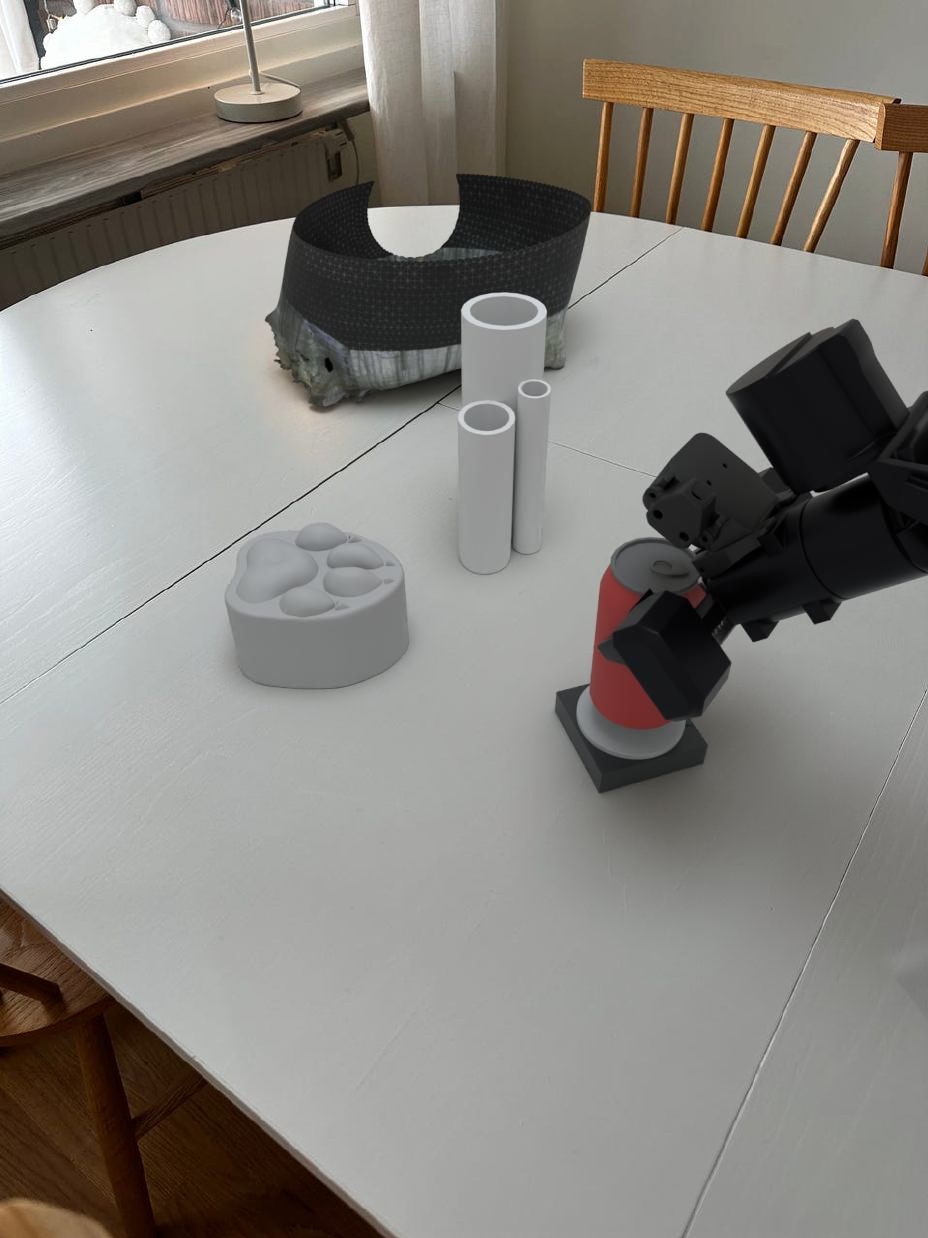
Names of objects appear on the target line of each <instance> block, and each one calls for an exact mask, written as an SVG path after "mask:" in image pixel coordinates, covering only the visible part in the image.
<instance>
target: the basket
mask: <svg viewBox="0 0 928 1238" xmlns="http://www.w3.org/2000/svg"><path fill="white" fill-rule="evenodd" d="M455 178H456V180H457V184H458V196H459V207H458V214H457V219H456V221H455V225H454V228H453V229H452V232H451V234H450V235H449V237H448V238H447V240H445V242H444V243H443V244H442V245H441V246H440V247H439V248H438V249H436V250H434V251H433V252H431V253H427V254H425V255H423V256H422V255H421V256H407V257H406V256H403V255H398V254H394V253H393V252H391V251H389V250H387V249H385V248H384V247H383V246H382V245H381V244H380V243H379V242H378V241H377V238H375V236H374V234H373V232H372V229H371V226H370V225H369V224H370V222H369V213H368V211H369V209H368V208H369V202H370V196H371V194H372V191H373V186H374V184H375V180H370V181H367V182H362V183H357V184H354V185H351V186H348V187H344V188H342V189H339V190H336V191H333V192H331V193H329V194H326V195H325V196H322V197H320V198H319V199H317V200H314V202H311V203H309V204H308V205H307V206H306V207H304V208H303V209H302V210H301V211H300V212H299V213H297V215H296V217H295V218H294V220H293V223H292V226H291V230H290V234H289V238H288V239H289V240H288V245H287V251H286V256H285V263H284V268H283V276H282V280H281V282H282V283H281V286H280V292H279V297H278V301H277V305H276V307H275V308H274V309H273V310H272V311H271V312H270V313H269V314H267V315H266V316H265V318H264V322H266V323H267V324H268V325H269V326H270V328H271V329H270V331H271V332H272V333H273V340H274V342H275V343H274V346H275V347H276V348H277V349H278V351H277V352H276V353H275V357H277V358H275V359H273V362H275V363H278V364H279V367H280V369H282V370H283V371H284V370H285V371H291V377H292V379H294V380H292V381H291V384H299V383H300V385H302V386H303V387H304V388H305V389H310V394H309V397H308V400H307V403H308V404H312V405H313V406H318V407H322V408H325V407H328V406H330V405H335V404H337V403H338V402H339V401H341V400H342V399H343V397H345V398H350V396H352V397H354V400H355V401H357V402H358V403H361V402H362V400H363V397H365V396H366V394H367V393H373V392H377V393H378V392H382V391H386V390H392V389H397V388H400V387H402V386H405V385H406V386H407V385H408V384H409V385H410V384H414V383H417V382H420V381H425V380H427V379H430V378H434V377H438V376H440V375H442V374H446V373H449V372H452V371H453V372H454V371H456V370H459V369H462V347H461V309H462V307H463V305H464V304H465V303H466V302H468V301H469V300H470V299H473V298H475V297H478V296H480V295H485V294H490V293H516V294H521V295H526V296H530V297H532V298H534V299H537V300H539V301H540V302H541V303H542V304H543V305H545V308H546V310H547V319H546V337H545V355H544V368H551V369H555V370H557V369H561V367H563V366H564V365H565V364H566V361H567V354H566V349H565V341H564V328H565V323H566V319H567V314H568V310H569V305H570V301H571V298H572V294H573V290H574V286H575V283H576V278H577V275H578V271H579V268H580V263H581V260H582V256H583V252H584V247H585V243H586V237H587V234H588V230H589V225H590V219H591V214H592V208H593V207H592V204H591V203H592V202H590V200H589V199H588V198H586V197H585V196H583V195H582V194H579V192H576V191H572V190H571V189H568V188H563V187H559V186H555V185H553V184H552V185H551V184H549V183H548V184H546V183H545V182H544V183H542V182H538V181H533V180H529V179H523V178H522V179H521V178H516V177H513V178H512V177H510V176H509V177H507V176H498V175H492V174H491V175H488V174H479V173H478V174H477V173H476V174H475V173H461V174H460V173H456V174H455ZM278 358H279V359H278Z"/></svg>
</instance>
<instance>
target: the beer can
mask: <svg viewBox="0 0 928 1238" xmlns="http://www.w3.org/2000/svg"><path fill="white" fill-rule="evenodd" d="M693 551H694V550H692V549H691V548H690V547H689V548H687V549H680V548H676V547H675V546H674V545H673V544H671V543H670V542H669V541H668V540H667V539H665V538H664V537H659V536H658V537H657V536H645V537H638V538H634V539H632V540H629V541H626V542H624V543H623V544H621V545H619V546H618V547H617V548H616V549H615V550H614V552H613V553H612V554H611V557H610V563H609V564H608V566H607V568H606V569H605V571H604V573H603V574H602V577H601V580H600V581H599V591H598V599H597V600H598V601H597V610H596V619H595V629H594V639H593V651H592V659H591V669H590V680H589V683H590V691H589V694H590V696H591V699H592V702H593V704H594V706H595V707H596V708H597V710H598V711H599V712H600V713H601V714H602V715H603V716H604V717H606V718H607V719H609V720H610V721H612V722H613V723H615V724H617V725H620V726H623V727H626V728H630V729H640V730H645V729H652V728H659V727H661V726H663V725H665V724H668V723H670V722H671V721H667V720H665V719H664V717H663V716H662V715H661V713H660V712H659V710H658V709H657V708H656V706H655V705H654V703H653V702H652V701H651V699H650V698H649V696H648V695H647V694H646V692H645V691H644V689H643V688H642V687H641V685H640V684H639V682H638V681H637V680H636V678H635V677H634V675H633V674H632V673H631V671H630V670H629V668H628V667H627V666H625V665H622V664H619V663H616V662H613V661H610V660H607V659H605V658H604V657H603V655H602V654H601V652H600V651H599V650H598V648H597V645H598V644H599V643H600V642H601V641H603V640H604V639H606V638H607V637H609V636H610V635H612V632H613V631H614V630H615V629H616V628H617V627H618V625H619V624H620V623H621V622H622V621H623V620H624V619H625V617H626V616H627V615H628V612H629V611H630V610H631V608H632V607H633V606H634V605H635V604H636V603H637V602H638V600H639V599H640V598H641V597H642V596H643V595H644V594H645V592H646V591H647V590H648V589H649V588H650V589H651V590H652V591H653V593H654V594H655V593H658V592H661V591H663V590H668V591H671V592H673V593H676V594H678V595H680V596H683V597H685V598H688V600H689V601H690V603H691V604H692V606H693V607H694V608H696V606H697V605H698V604H699V603H700V601H701V600H702V599H703V598H704V597H705V592H704V591H703V590H702V588H701V587H700V585H699V583H698V579H699V577H700V574H699V573H698V571H697V570H696V568H695V567H694V565H693V564H692V562H691V561H692V560H693V559H694V558H695V557H696V556H697V555H696V554H695V553H694V552H693Z"/></svg>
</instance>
